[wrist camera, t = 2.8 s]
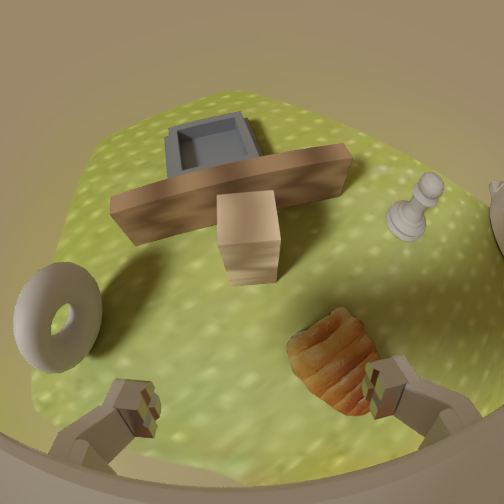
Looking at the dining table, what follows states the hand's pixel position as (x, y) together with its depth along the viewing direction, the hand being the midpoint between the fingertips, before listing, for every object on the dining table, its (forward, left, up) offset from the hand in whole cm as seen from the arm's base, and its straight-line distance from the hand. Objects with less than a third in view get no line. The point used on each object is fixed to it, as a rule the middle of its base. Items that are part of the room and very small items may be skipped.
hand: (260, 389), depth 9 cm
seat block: (-1, -24, -13) cm, 28 cm away
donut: (+15, -7, -13) cm, 22 cm away
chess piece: (-19, -10, -13) cm, 25 cm away
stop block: (-2, -10, -13) cm, 17 cm away
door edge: (-2, -16, -13) cm, 21 cm away
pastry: (-6, 0, -13) cm, 15 cm away
